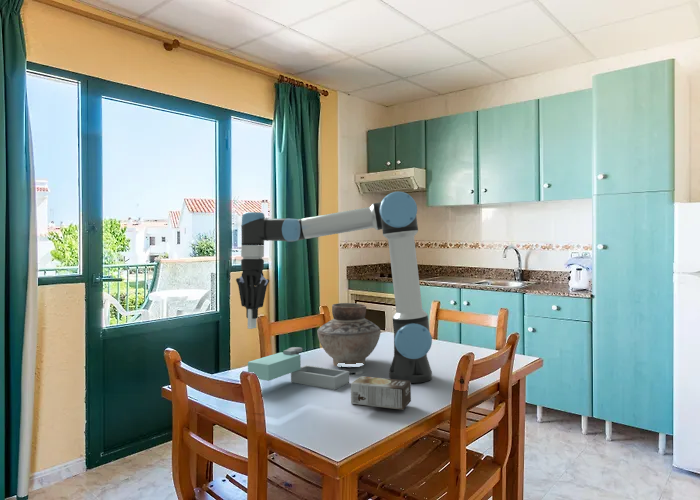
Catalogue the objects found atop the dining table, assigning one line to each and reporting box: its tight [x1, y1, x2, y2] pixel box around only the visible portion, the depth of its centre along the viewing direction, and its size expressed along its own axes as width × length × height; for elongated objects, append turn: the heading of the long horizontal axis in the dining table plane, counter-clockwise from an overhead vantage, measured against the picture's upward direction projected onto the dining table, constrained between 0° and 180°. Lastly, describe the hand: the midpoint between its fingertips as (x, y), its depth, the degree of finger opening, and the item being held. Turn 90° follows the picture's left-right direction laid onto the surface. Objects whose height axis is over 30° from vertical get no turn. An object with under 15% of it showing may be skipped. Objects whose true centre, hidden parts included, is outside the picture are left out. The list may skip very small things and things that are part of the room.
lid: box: [247, 346, 303, 382], centre depth 162 cm, size 22×9×6 cm, turn 149°
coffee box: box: [350, 375, 412, 411], centre depth 142 cm, size 9×6×16 cm
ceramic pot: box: [317, 302, 382, 367], centre depth 189 cm, size 25×25×24 cm
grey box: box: [290, 352, 350, 390], centre depth 165 cm, size 21×9×10 cm, turn 59°
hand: (251, 328), depth 161 cm, fingers closed
